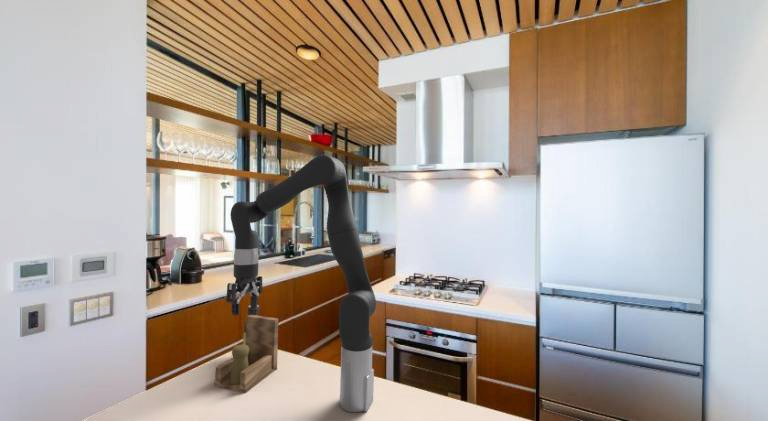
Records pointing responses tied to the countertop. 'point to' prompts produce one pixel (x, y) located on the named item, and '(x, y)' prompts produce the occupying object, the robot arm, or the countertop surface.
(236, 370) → the olive rounded bulb piece
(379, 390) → the countertop surface
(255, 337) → the wooden stand
